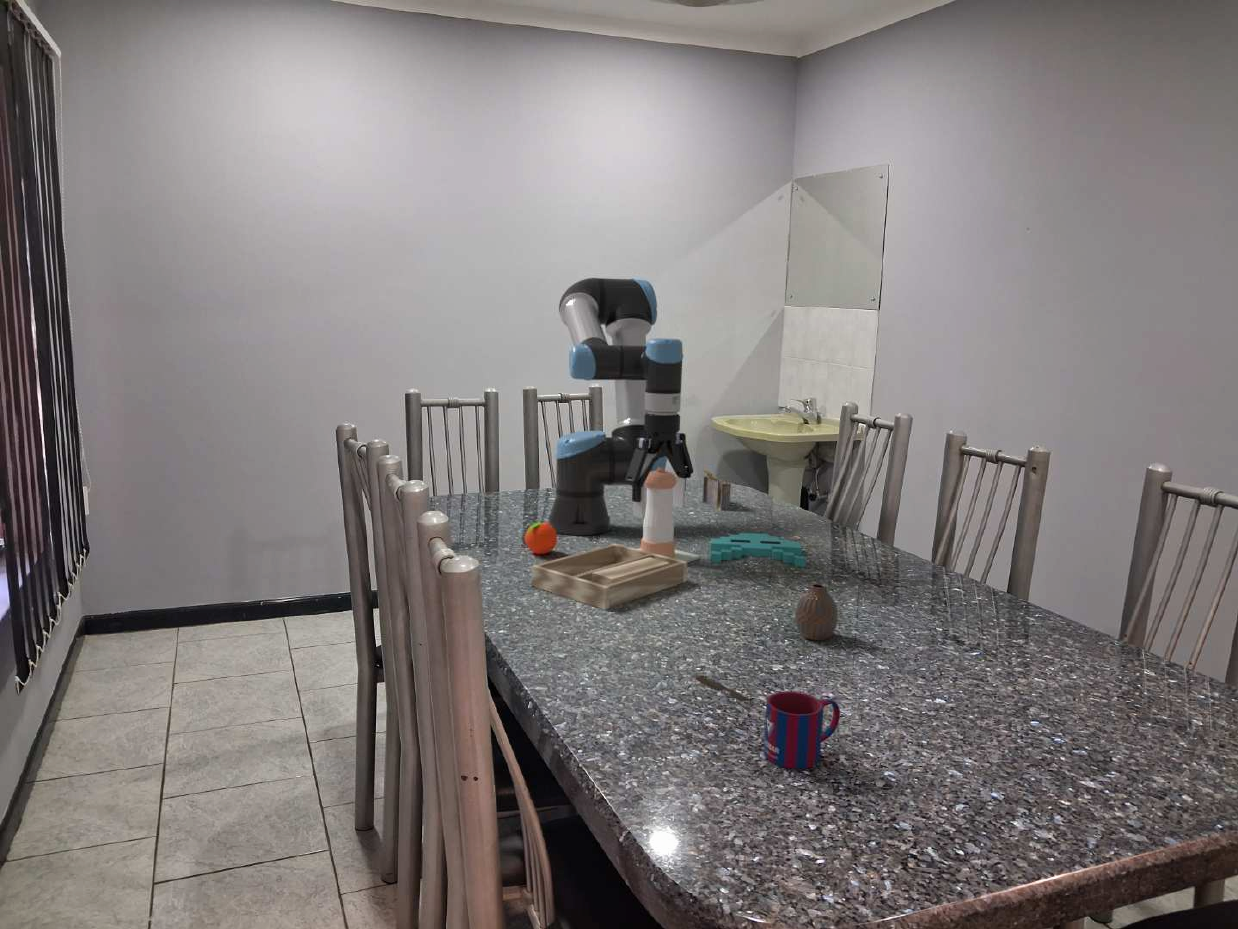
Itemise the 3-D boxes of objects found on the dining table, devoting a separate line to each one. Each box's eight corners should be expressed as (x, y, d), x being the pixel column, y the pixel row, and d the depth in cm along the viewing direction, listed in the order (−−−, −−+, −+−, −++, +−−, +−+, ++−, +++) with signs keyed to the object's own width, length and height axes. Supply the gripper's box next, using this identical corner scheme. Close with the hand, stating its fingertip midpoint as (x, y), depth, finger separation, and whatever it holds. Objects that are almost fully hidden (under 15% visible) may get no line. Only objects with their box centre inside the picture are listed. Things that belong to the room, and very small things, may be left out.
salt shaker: (671, 561, 189) (674, 471, 186) (637, 558, 191) (640, 469, 188) (676, 552, 196) (679, 465, 193) (644, 549, 198) (646, 464, 195)
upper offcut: (592, 585, 167) (592, 572, 167) (649, 569, 179) (650, 557, 178) (611, 592, 164) (611, 579, 163) (668, 575, 175) (669, 562, 175)
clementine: (538, 560, 190) (539, 528, 188) (514, 554, 194) (515, 522, 192) (563, 553, 196) (564, 521, 195) (539, 547, 200) (540, 516, 199)
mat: (615, 557, 193) (615, 555, 193) (653, 546, 203) (653, 544, 203) (662, 570, 185) (662, 567, 185) (699, 558, 194) (700, 555, 194)
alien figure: (805, 568, 190) (796, 544, 210) (806, 558, 190) (797, 535, 209) (710, 564, 192) (710, 540, 212) (710, 554, 192) (710, 531, 211)
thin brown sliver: (759, 705, 123) (759, 702, 123) (745, 709, 122) (745, 707, 122) (703, 674, 133) (703, 672, 133) (689, 678, 132) (689, 676, 132)
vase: (838, 632, 152) (842, 582, 150) (834, 646, 145) (837, 594, 144) (797, 626, 154) (800, 577, 152) (791, 640, 147) (794, 588, 146)
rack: (531, 586, 172) (531, 566, 171) (614, 562, 190) (614, 543, 189) (604, 609, 160) (605, 588, 159) (686, 581, 178) (687, 561, 177)
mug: (754, 746, 111) (757, 694, 110) (824, 736, 114) (828, 685, 113) (780, 773, 105) (783, 718, 104) (854, 761, 108) (858, 708, 107)
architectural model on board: (701, 503, 252) (702, 469, 250) (710, 503, 253) (712, 469, 251) (719, 512, 241) (720, 476, 239) (729, 511, 242) (731, 476, 241)
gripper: (637, 419, 177) (634, 524, 180) (711, 410, 195) (707, 505, 199) (609, 415, 181) (607, 517, 185) (684, 407, 200) (680, 500, 204)
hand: (659, 511), depth 192 cm, fingers open, 13 cm apart
